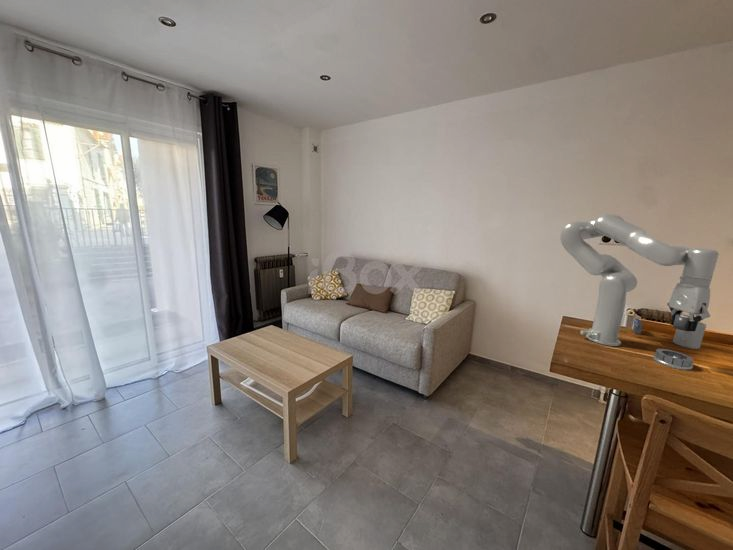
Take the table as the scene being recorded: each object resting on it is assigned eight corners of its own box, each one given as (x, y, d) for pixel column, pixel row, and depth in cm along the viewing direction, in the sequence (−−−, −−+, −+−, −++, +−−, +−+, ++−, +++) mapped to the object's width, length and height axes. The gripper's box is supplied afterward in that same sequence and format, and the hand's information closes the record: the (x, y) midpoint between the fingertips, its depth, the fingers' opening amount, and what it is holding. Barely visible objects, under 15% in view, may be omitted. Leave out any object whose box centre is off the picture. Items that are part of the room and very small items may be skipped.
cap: (682, 331, 111) (685, 318, 110) (668, 325, 116) (672, 313, 115) (696, 331, 111) (700, 319, 110) (682, 326, 116) (685, 314, 115)
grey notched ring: (670, 369, 111) (673, 360, 111) (645, 355, 122) (647, 347, 121) (701, 371, 111) (703, 362, 110) (672, 357, 122) (675, 349, 121)
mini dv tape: (630, 329, 152) (633, 318, 151) (634, 329, 152) (637, 318, 150) (636, 334, 145) (638, 323, 144) (640, 335, 144) (643, 323, 143)
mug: (678, 339, 140) (684, 318, 138) (703, 347, 133) (710, 324, 130) (664, 343, 136) (671, 320, 133) (690, 351, 128) (697, 327, 126)
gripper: (663, 276, 118) (652, 319, 122) (709, 287, 101) (695, 336, 105) (682, 277, 118) (670, 320, 122) (732, 288, 101) (717, 337, 105)
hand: (682, 327), depth 113 cm, fingers closed on cap, 5 cm apart
